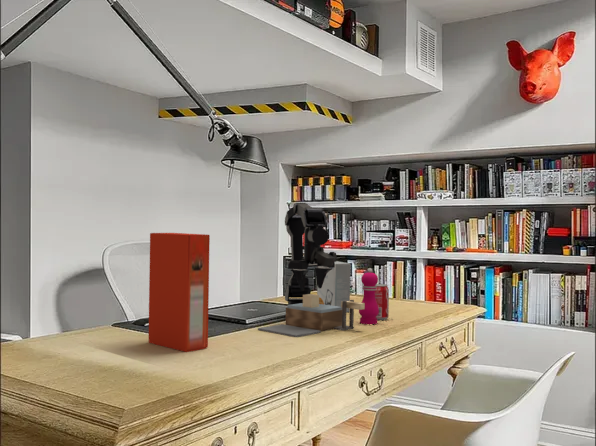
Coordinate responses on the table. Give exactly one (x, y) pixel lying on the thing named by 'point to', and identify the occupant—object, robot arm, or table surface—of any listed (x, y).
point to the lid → (313, 305)
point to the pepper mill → (369, 298)
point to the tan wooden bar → (355, 305)
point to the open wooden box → (320, 319)
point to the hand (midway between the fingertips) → (311, 289)
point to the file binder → (179, 290)
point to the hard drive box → (336, 285)
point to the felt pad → (289, 330)
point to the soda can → (382, 301)
